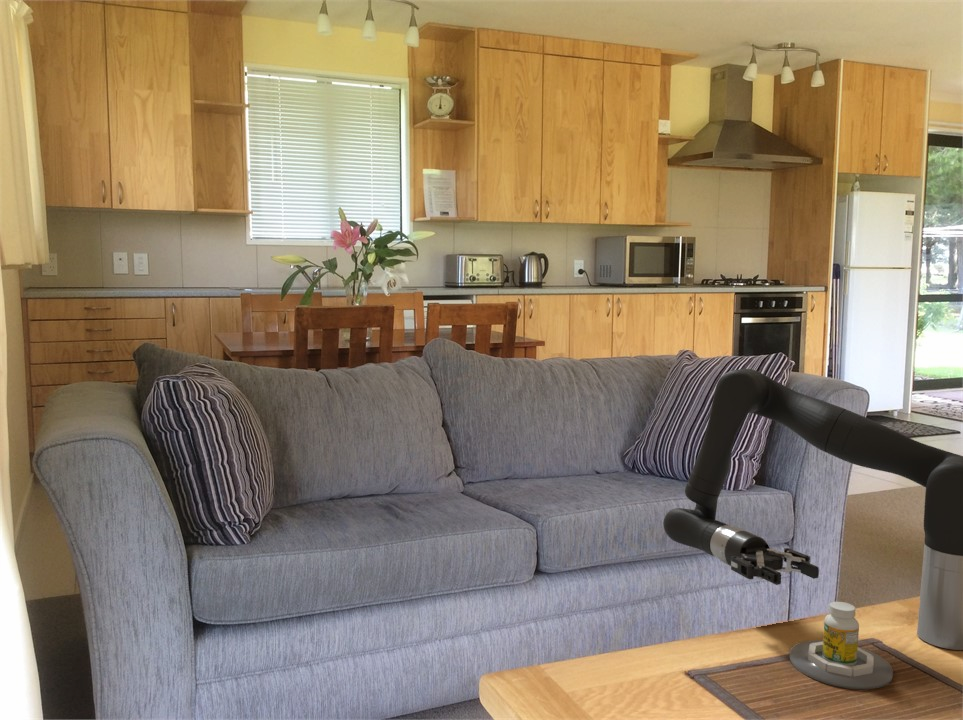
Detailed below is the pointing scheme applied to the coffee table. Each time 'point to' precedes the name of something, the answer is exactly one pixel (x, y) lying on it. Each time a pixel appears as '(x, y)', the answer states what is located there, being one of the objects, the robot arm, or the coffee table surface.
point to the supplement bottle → (841, 634)
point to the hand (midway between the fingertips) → (798, 576)
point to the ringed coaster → (841, 667)
